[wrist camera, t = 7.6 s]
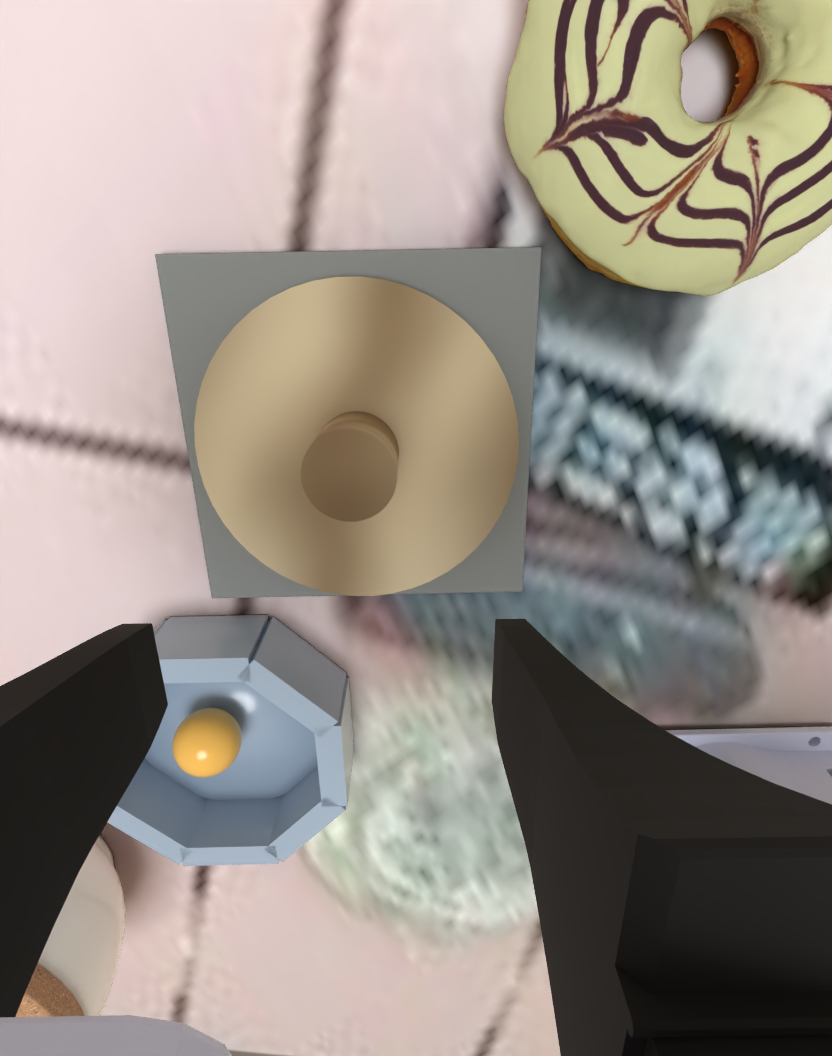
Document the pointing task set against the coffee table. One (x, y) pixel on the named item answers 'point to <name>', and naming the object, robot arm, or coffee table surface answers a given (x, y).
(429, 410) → the lid
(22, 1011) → the lidded jar
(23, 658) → the coffee table surface
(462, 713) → the coffee table surface
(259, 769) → the bowl
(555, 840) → the robot arm
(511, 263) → the mat
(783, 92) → the decorated donut
